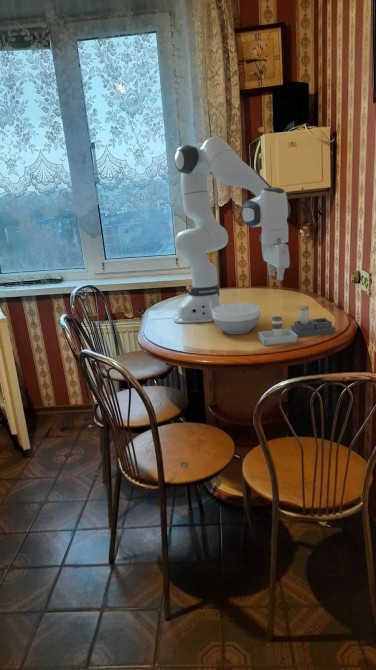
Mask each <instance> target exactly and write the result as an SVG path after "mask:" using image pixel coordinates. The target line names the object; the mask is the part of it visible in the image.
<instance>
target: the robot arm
mask: <svg viewBox="0 0 376 670" xmlns="http://www.w3.org/2000/svg"><path fill="white" fill-rule="evenodd" d="M173 160H174V165H175V167H176V169H177V171H178V172H179V173H180V189H181V190H180V191H181V196H182V197H181V198H182V203H183V204H182V205H183V210H184V215H185V216H186V217H187V218H189V219H191V220H192V221H193V222H194V224H195V226H196V227H195V228H194V227H193V228H188V229H185V230H182V231H180V232H177V234H176V236H175V239H174V247H175V250H176V251H177V253H178V254H179V255H180V256H182V257H184V258H185V260H186V261H187V263H188V265H189V269H190V274H191V275H190V276H191V283H192V285H191V286H189V285H187V286H186V288H185V289H186V290H187V291H188V292H187V293H188V295H187V296H186V297H185V298H184V299H182V301H180V302H179V304H178V306H177V313H175V314H173V316H172V320H173V322H174V323H176V324H193V323H207V322H209V323H210V322H215V321H214V318H213V314H212V310H213V309H214V308H215V307H217V306H220V305H221V301H220V292H221V291H220V286H219V285H220V284H219V282H218V269H217V265H215V263H213V262H211V261H209V259H208V257H207V253H213V252H216V251H219V250H221V249H223V248H225V247H226V246H227V244H228V242H229V234H228V231H227V230H226V228H225V227H224V226H222V225H221V224H220V223H219V222H218V220H217V219H216V217H215V214H214V213H213V210H212V206H211V200H210V194H209V189H208V182H207V180H208V179H207V178H208V175H209V174H210V175H212V176H213V177H214V179H216V180H217V181H218V183H220V184H221V185H225V186H228V187H238V188H242V189H245V190H248V191H250V192H252V194H253V195H255V197H253V198H251V199H248V200H246V201H244V203H243V205H242V206H241V211H240V212H241V215H240V217H241V220H242V222H243V223H244V225H245V226H246V227H248V228H249V227H250V228H257V227H261V234H259V242H261V252H262V253H261V254H262V259H263V261H264V262H266V263H267V268H268V274H269V276H270V277H271V276H275V275H276V280H278V281H283V280H284V274H285V269H289V268H290V263H291V262H290V250H289V246H288V244H286V243H288V242H289V224H288V221H287V220H288V218H289V217H290V214H291V206H290V202H289V201H288V196H287V193H286V190H285V189H284V188H281V187H274V186H271V185H270V184H269V183H268V181H266V180H265V179H264V178H263V176H262V175H261V174H260V173H259V172H258V171H256V170H255V169H254V168H253V167H251V166H249V164H247V163H246V162H244V161H243V160H242V159H241V157H239V156H238V154H237V153H236V151H235V150H234V149H233V148H232V147H231V145H229V143H227V142H226V140H224V139H223V138H222V137H220V136H211V137H208V139H206V140H205V141H204V142H200V143H194V144H193V143H192V144H185V145H181V146H180V147H177V149H176V151H175V153H174V159H173ZM275 268H276V269H277V274H276V270H275Z"/></svg>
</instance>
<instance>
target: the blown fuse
mask: <svg viewBox="0 0 376 670" xmlns="http://www.w3.org/2000/svg"><path fill="white" fill-rule="evenodd" d="M271 320H272V322H271V323H272V324H271V326H272V330H273V338H277V337H282V329H283V317H282V316H276V315H275V316H273V317H271Z"/></svg>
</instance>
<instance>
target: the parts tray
mask: <svg viewBox="0 0 376 670" xmlns="http://www.w3.org/2000/svg"><path fill="white" fill-rule="evenodd" d="M257 338H258V340H259V342H261V344H263V346H264V347H270V346H278V345H285V344H286V345H287V344H294V343H299V337H298V335H297V334H296V333H294V332H293V331H292V330H291V328H282V337H277V338H273V329H272V330H265V331H258V332H257Z"/></svg>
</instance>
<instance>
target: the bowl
mask: <svg viewBox="0 0 376 670" xmlns="http://www.w3.org/2000/svg"><path fill="white" fill-rule="evenodd" d="M212 314H213V318H214V321H213V322H214V324H215V325H216V326H217V327H218V328H219V329H220V330H222V332H224V333H226V334H229V335H241V334H247V333H249V332H250V331H251V330H252V329H253V328H255V326H256V325H257V324H258V322H259V321H260V318H261V317H260V316H261V307H260V305H257V304H254V303H251V302H250V303H249V302H235V303H234V302H232V303H226V304H220V306H217V307H215V308H214V309H213V310H212Z"/></svg>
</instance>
